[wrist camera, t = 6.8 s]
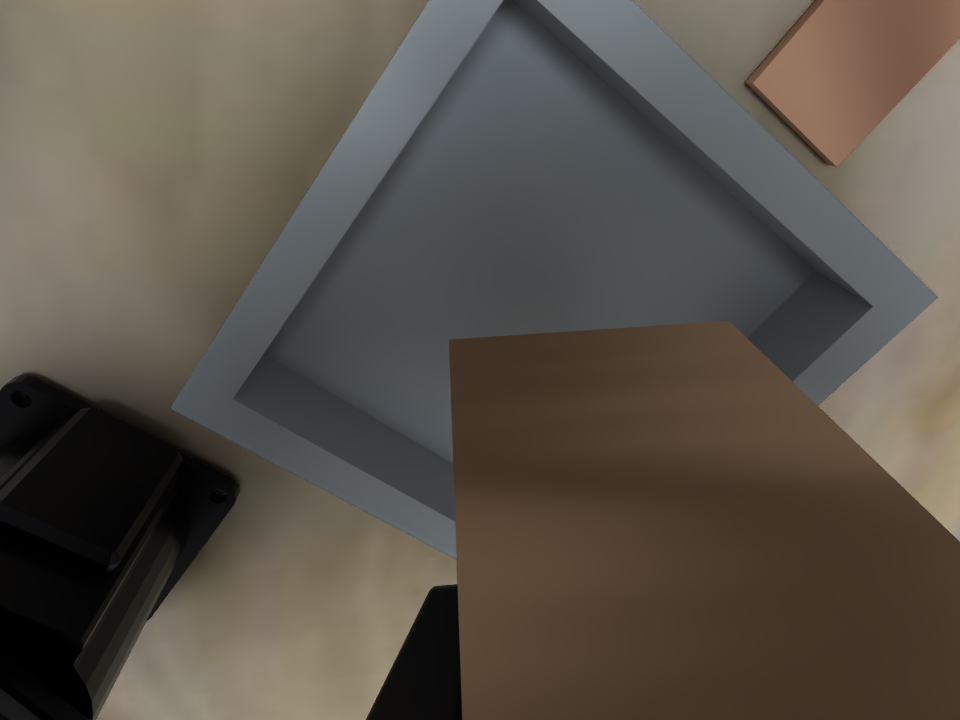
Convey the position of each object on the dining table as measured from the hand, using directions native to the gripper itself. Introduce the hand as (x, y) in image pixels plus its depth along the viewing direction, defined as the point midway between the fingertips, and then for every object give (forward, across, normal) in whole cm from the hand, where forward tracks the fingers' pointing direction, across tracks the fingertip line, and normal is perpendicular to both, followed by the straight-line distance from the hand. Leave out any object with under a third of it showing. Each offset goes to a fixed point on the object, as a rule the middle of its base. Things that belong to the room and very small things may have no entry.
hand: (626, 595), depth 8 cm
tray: (+10, 0, 0) cm, 10 cm away
